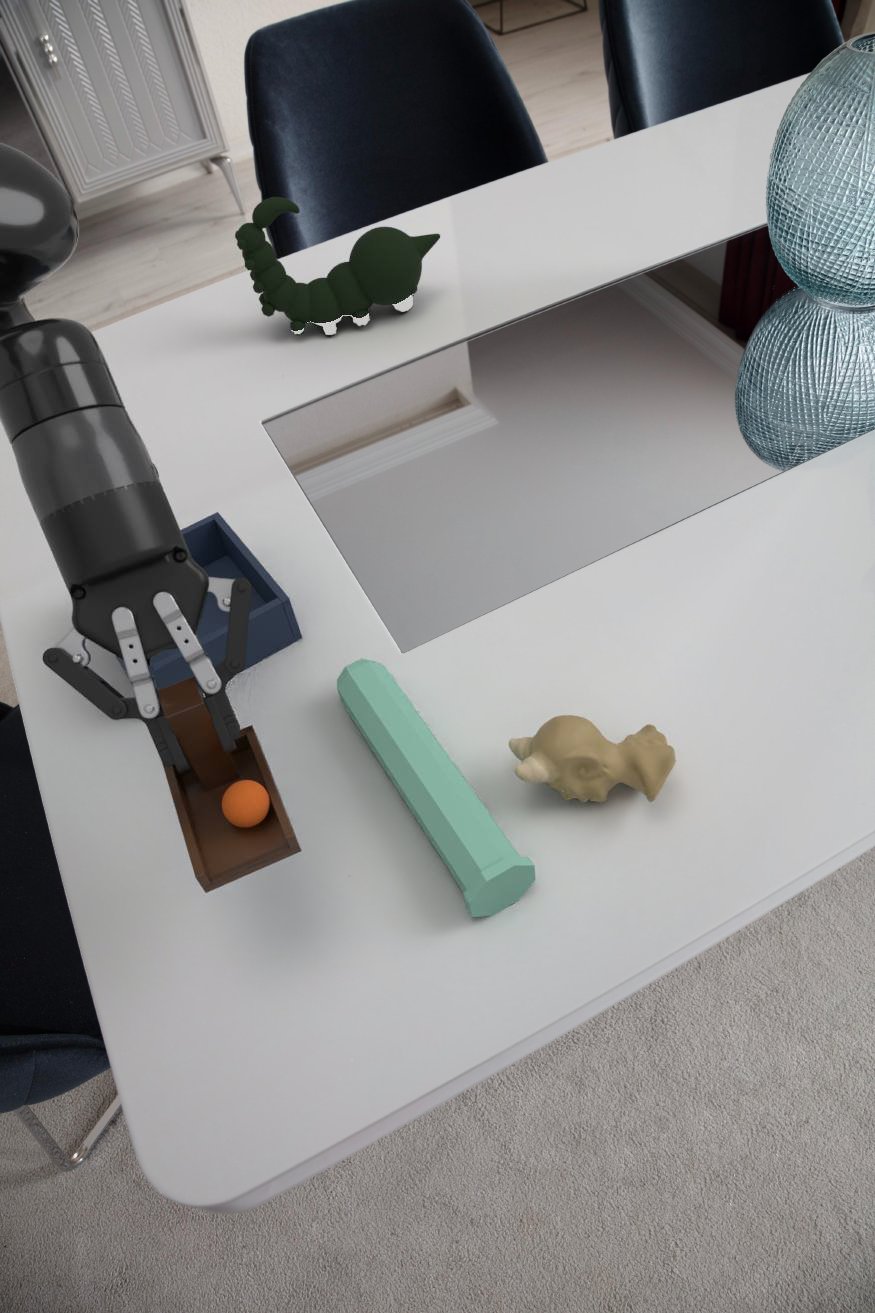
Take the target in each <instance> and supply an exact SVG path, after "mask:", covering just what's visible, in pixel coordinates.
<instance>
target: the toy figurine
mask: <svg viewBox="0 0 875 1313" xmlns="http://www.w3.org/2000/svg"><path fill="white" fill-rule="evenodd" d="M300 212H301V211H300V208H299V206H298V205H297V204H296V203H295V202H294V201H292V200H291V199H288V198H286V197H281V196H271V197H269V198H265V199H263V200H261V201H260V202H259V203H258V204H257V205H256V206H255V207H254V208H253V211H252V215H251V219H252V222H245V223H243V224H241V226H240V227H238V229H237V230H236V231H235V233H234V239H235V240H236V242H237V243H236V246H237V247H238V249H239V250H240V251H241V256H242V258H243V261H244V267H245V269H246V270H247V271H250V273H249V276H250V279H251V280H252V281H253V285H252V289H253V291H254V293H256V294H258V295H259V297H258V301H259V303H260V304H261V309H260V311H261V312H262V315H263V316H266V317H268V318H269V317H272V316H274V314H275V312H278V313H284V316H285V317H286V318H287V317H288V318H287V319H288V320H290V322H289V328H291V329H290V331H291V330H293V331H298V330H302V329H303V328H304V327H305V328H306V324H305V323H307V322H310V321H311V322H314V323H326V322H331V321H334V320H336V319H338V318H340V317H341V316H342V315H352V316H353V317H356V318H362V317H364V316H366V315H367V314H368V313H369V311H370V309H371V308H372V307H373V305H374V304H376V305H379V306H392V304H397V303H399V302H401V301H403V300H405V299H406V298H408V297H409V296H410V295H412V294H413V295H415V294H416V293H417V292H418V285H419V283H420V280H421V276H422V271H423V259H424V258H425V256H426V255H427V254H428V253H429V252H430V251H431V249H432V248H433V247H434V246H435V245H436V244H437V242H438V241H439V240H440V239H441V234H440V233H430V234H423V235H422V234H421V235H415V236H411V235H410V234H407V233H406V232H405V231H403V230H400V229H398V228H396V227H392V226H378V227H374V228H370V230H368V231H366V232H365V233H363V234H362V235H360V236H359V238H358V239H357V240H356V242H355V243H354V245H353V246H352V249H351V251H350V254H349V258H348V261H343V262H340V263H338V264H336V265H335V266H333V267H332V268H331V269H330V270H329V272H328V273H327V275H326V277H318V278H314V279H312V280H310V281H309V282H308V283H305V282H297V281H296V280H295V279H294V277H292V276H290V275H288V274H287V271H286V269H285V266H284V265H283V263H282V261H280V260H278V259H277V258H276V251H275V249H274V247H273V245H272V244H271V243H270V242H269V241H268V240H266V234H265V232H264V229H267V228H268V227H269V226H271V224H272V223H273V222H274V220H275V219H276V218H277V217H278V216H280V215H282V214H284V213H294V214H296V215H297V214H299V213H300ZM370 307H371V308H370ZM369 308H370V309H369ZM368 309H369V311H368ZM307 324H308V323H307Z"/></svg>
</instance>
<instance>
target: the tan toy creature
mask: <svg viewBox="0 0 875 1313" xmlns="http://www.w3.org/2000/svg"><path fill="white" fill-rule="evenodd" d="M508 747H509V749H510V751H511V753H512V754H513V755H514V756H515V757H516V759H517V760H520V761H521V762H520V763H517V764H516V765H515V766H514V774H515V775H516V776H517V778H518V779H520V780H521V781H523V783H524V782H525V783H527V784H536V783H537V784H538V783H546V784H547V786H548V787H549V788H551V789H554V790H556V791H557V793H559V795H560V796H561V797H562V798H563V800H564V801H566V802H568V801H570V800H573V799H577V800H579V801H580V802H581V803H587V801H588V800H589V801H590V802H595V803H596V802H597V803H603V802H605V801H607V798H608V793H609V791H610V790H611V789H612V788H613V787H615V786H616V785H618V784H619V783H620V784H621V783H622V784H624V785H626V786H629V787H631V788H632V789H634V790H635V791H638V792H640V793H642V794H643V795H644V796H645V797H646V799H647V801H649V803H654V801H655V800H656V798H657V796H658V795H659V793H660V791H661V789H662V788H663V786H664V784H665V782H666V781H667V779H668V777H669V775H670V774H671V772H672V770H673V768H674V766H675V765H676V762H677V760H676V752H675V748H674V746H671V745H670V744H668V741H667V738H666V736H665V734H664V733H662V732H661V731H658V729H657V727H656V726H655V725H653V724H651V723H649V724H646V725H644V726H643V727H642V728H641V729H640V730H639V731H637V732H636V733H633V734H628V735H626V737H625V738H624V739H623V740H622V741H620V742H618V743H613V742H611V741H610V740H608V739H607V738H606V737H605V736H604V735H603V733H602V732H601V731H600V729H599V728H598V727H597V726H596V725H595V724H594V723H593V721H591V720H590V719H587V718H585V717H583V716H579V715H573V714H563V715H557V716H554V717H552V718H550V719H549V720H547V721H546V722H545V723H543V724H542V725H541V726H540V727H539V729H538V730H537V731H536V734H534V735H533V736H532V737H531V736H524V737H519V738H516V737H515V738H514V737H513V738H510V739H509V740H508Z"/></svg>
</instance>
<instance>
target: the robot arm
mask: <svg viewBox="0 0 875 1313" xmlns="http://www.w3.org/2000/svg"><path fill="white" fill-rule="evenodd" d="M79 238H80V220H79V215H78V212H77V209H76V207H75V204H74V202H73V200H72V198H71V196H70V194H69V192H68V191H67V189H66V188H65V187H64V186H63V184H62V183H61V182H60V181H59V179H57V177H56V176H55V175H54V174H53V173H52V172H51V171H50V170H48V168H46V167H45V166H44V165H42V164H41V163H40V162H39V161H37V160H36V159H35V158H33V157H32V156H30V155H28V154H27V153H26V152H23V151H21V150H19V149H17V148H15V147H12V146H10V145H8V144H6V143H3V142H1V141H0V423H1V426H2V428H3V430H4V433H5V435H6V437H7V440H8V442H9V444H10V446H11V449H12V452H13V455H14V457H15V461H16V464H17V468H18V472H19V476H20V479H21V483H22V485H23V488H24V490H25V493H26V495H27V498H28V499H29V502H30V504H31V507H32V509H33V511H34V514H35V516H36V518H37V521H38V524H39V526H40V528H41V530H42V533H43V535H44V538H45V540H46V542H47V544H48V547H49V550H50V551H51V554H52V557H53V559H54V561H55V563H56V566H57V568H58V570H59V573H60V575H61V577H62V579H63V582H64V584H65V586H66V589H67V592H68V594H69V596H70V598H71V605H72V612H71V624H72V628H71V629H70V630H69V631H68V632H67V633H66V634H65V635H64V636H63V638H62V639H61V640H60V641H59V642H58V643H57V644H56V645H55V646H54V647H50V648H47V649H46V650H45V651H44V652H43V654H42V663H43V664H44V665H45V666H46V667H47V668H48V669H50V670H51V671H52V672H53V673H54V674H55V675H56V676H59V678H60V679H62V680H63V681H64V682H66V683H67V684H68V685H69V686H70V687H72V688H73V689H74V690H76V691H77V692H78V693H79V694H80V695H81V696H82V697H84V698H85V699H86V700H88V702H90V703H91V704H92V705H94V706H95V707H96V708H97V709H98V710H100V711H101V712H102V714H105V716H107V717H109V718H110V719H111V720H112V721H113V720H114V721H120V720H129V719H131V720H132V719H136V720H140V721H141V722H143V723H144V724H145V726H146V728H147V730H148V732H149V735H150V737H151V740H152V742H153V744H154V747H155V749H156V752H157V754H158V756H159V758H160V761H161V763H162V762H163V763H164V764H165V765H166V766H167V767H170V766H172V765H175V766H176V768H177V770H178V772H179V773H180V772H183V771H185V770H188V769H190V767H191V763H190V760H189V759H188V757H187V755H186V753H185V752H184V750H183V748H182V746H181V744H180V743H179V741H178V739H177V737H176V735H175V734H174V733H173V731H172V729H171V727H170V726H169V724H168V722H167V720H166V718H165V715H164V712H163V709H162V706H161V702H160V699H159V696H158V693H157V691H158V690H159V689H158V685H157V682H156V678H155V672H154V668H153V664H152V661H151V658H153V657H155V656H156V655H157V654H159V653H160V652H162V651H163V650H169V649H176V648H179V650H180V651H181V653H182V655H183V657H184V658H185V660H186V662H187V663H188V664H189V666H190V668H191V669H192V671H193V673H194V675H195V676H196V678H197V680H198V682H199V683H200V685H201V688H202V690H203V695H204V697H205V698H204V702H205V704H206V707H207V709H208V712H209V714H210V716H211V721H212V723H213V725H214V728H215V730H216V732H217V735H218V737H219V740H220V742H221V744H222V747H223V749H224V751H225V753H226V754H227V753H229V752H232V751H234V750H236V745H235V742H234V740H236V739H239V738H240V730H241V725H240V723H239V721H238V719H237V716H236V714H235V711H234V708H233V706H232V704H231V702H230V701H231V700H230V699H229V697H228V694H227V690H226V688H227V685H228V683H229V682H230V681H231V680H232V679H233V678H234V677H236V676H237V675H238V674H240V673H242V672H243V671H244V670H243V669H244V667H245V657H246V646H247V634H248V623H249V611H250V600H251V583H250V582H249V581H248V580H247V579H245V578H237V579H225V578H215V577H208V575H207V573H206V572H205V570H204V569H203V568H201V567H200V566H199V565H198V564H197V563H196V562H195V561H194V560H193V559H192V557H191V555H190V552H189V550H188V548H187V545H186V543H185V540H184V538H183V535H182V533H181V530H182V529H181V528H180V526H179V523H178V521H177V519H176V516H175V514H174V511H173V508H172V506H171V504H170V502H169V499H168V497H167V494H166V492H165V490H164V487H163V485H162V482H161V479H160V474H159V471H158V468H157V466H156V465H155V464H154V462H153V461H152V458H151V456H150V453H149V450H148V448H147V446H146V444H145V442H144V440H143V438H142V436H141V435H140V433H139V431H138V429H137V427H136V426H135V424H134V422H133V421H132V419H131V417H130V415H129V412H128V411H127V409H126V406H125V403H124V401H123V399H122V395H121V394H120V391H119V389H118V386H117V384H116V381H115V379H114V377H113V374H112V372H111V369H110V367H109V364H108V362H107V360H106V357H105V355H104V353H103V351H102V349H101V347H100V345H99V342H98V341H97V339H96V337H95V336H94V334H93V333H92V332H91V330H90V329H89V328H87V327H86V325H84V324H82V323H80V322H78V321H77V320H74V319H70V318H65V317H64V318H63V317H49V318H41V319H37V320H36V319H35V318H34V316H33V315H32V313H31V311H30V309H29V308H28V305H27V303H26V299H25V297H26V295H28V294H29V293H30V292H32V291H33V290H35V288H37V287H39V285H41V284H42V283H44V282H45V281H46V280H47V279H49V278H50V277H51V276H52V275H54V274H55V273H57V271H59V270H60V269H61V268H62V267H63V266H64V265H65V264H66V263H67V262H68V261H69V260H70V258H71V257H72V256H73V254H74V253H75V250H76V248H77V245H78V242H79ZM208 592H211V593H213V594H214V595H215V596H216V598H217V604H218V607H219V608H220V609H221V610H222V611H224V612H229V623H228V635H227V646H226V658H225V659H224V660H223V661H221V662H220V663H219V664H218V665H217V666H216V667H215V666H214V664H213V663H212V661H211V659H210V657H209V656H208V654H207V652H206V650H205V648H204V646H203V645H202V643H201V641H200V639H199V638H198V636H197V632H198V629H199V625H200V621H201V618H202V614H203V610H204V606H205V602H206V598H207V594H208ZM87 640H89V641H90V642H92V643H94V644H95V645H97V646H99V647H101V648H102V649H103V650H106V651H107V652H108V653H110V654H111V655H114V656H115V657H116V656H117V657H119V658H120V659H122V660H124V662H125V666H126V669H127V673H128V676H129V677H128V676H127V677H128V679H129V682H130V684H131V687H132V690H133V694H134V696H133V697H125V695H123V694H122V693H121V692H119V691H118V690H117V689H116V688H114V687H113V685H111V684H110V683H109V682H107V681H106V680H105V679H104V678H103V677H102V676H100V675H99V674H98V673H97V672H96V671H94V670H93V669H92V668H90V666H89V665H90V663H91V660H92V656H91V654H90V652H89V651H88V649H87V648H86V641H87ZM117 657H116V658H117ZM242 670H243V671H242ZM241 671H242V672H241Z"/></svg>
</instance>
